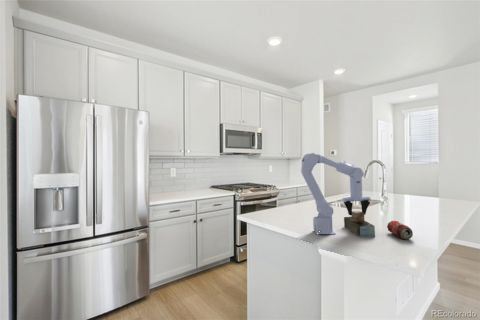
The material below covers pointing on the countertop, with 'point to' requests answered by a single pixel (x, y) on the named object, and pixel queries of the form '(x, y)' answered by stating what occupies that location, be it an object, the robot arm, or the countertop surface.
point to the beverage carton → (359, 227)
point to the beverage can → (400, 230)
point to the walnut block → (357, 216)
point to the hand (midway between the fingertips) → (357, 214)
